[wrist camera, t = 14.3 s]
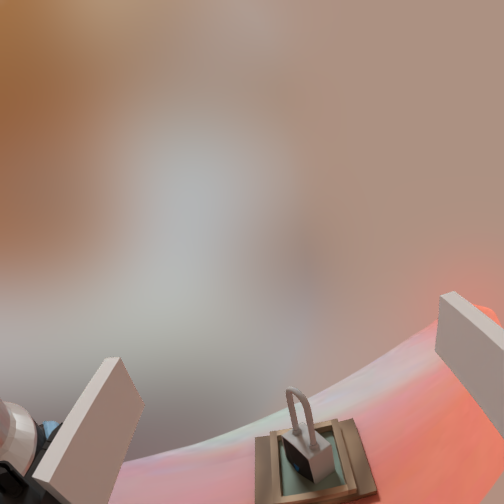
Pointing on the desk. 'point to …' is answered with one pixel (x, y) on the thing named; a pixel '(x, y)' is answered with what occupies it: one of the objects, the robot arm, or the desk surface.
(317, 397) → the desk surface
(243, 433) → the desk surface
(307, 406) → the padlock
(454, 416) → the desk surface
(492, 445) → the desk surface
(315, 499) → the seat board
